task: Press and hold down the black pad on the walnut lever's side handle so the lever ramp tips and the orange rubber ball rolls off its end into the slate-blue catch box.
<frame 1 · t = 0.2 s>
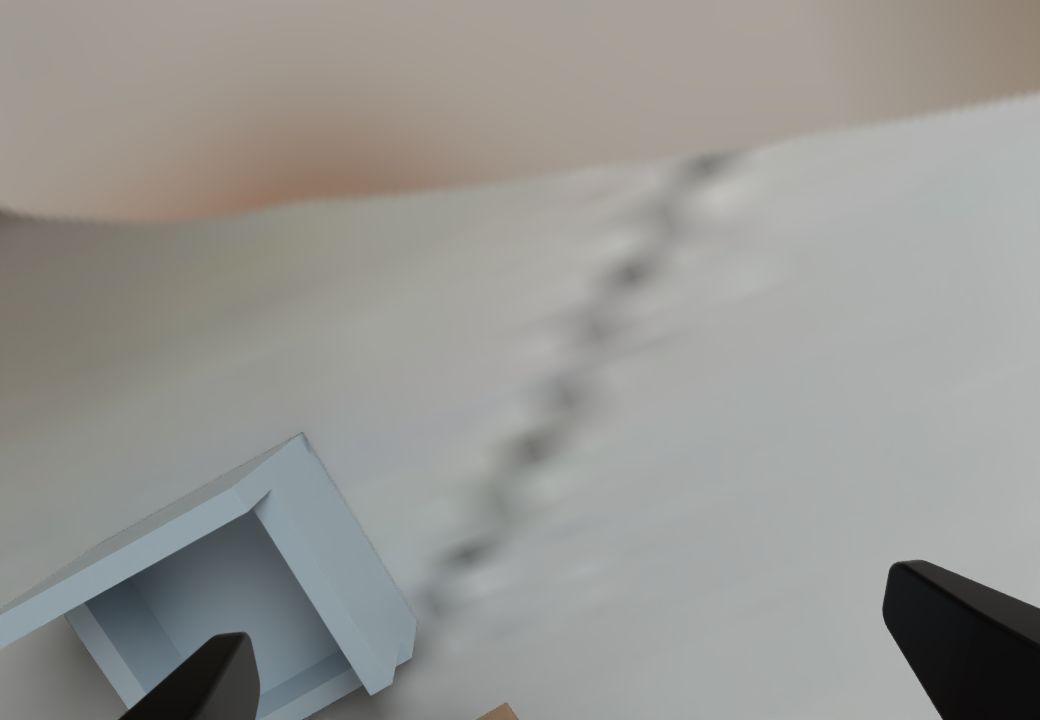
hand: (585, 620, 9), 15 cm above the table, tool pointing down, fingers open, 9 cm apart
catch box: (261, 584, 24), on the table
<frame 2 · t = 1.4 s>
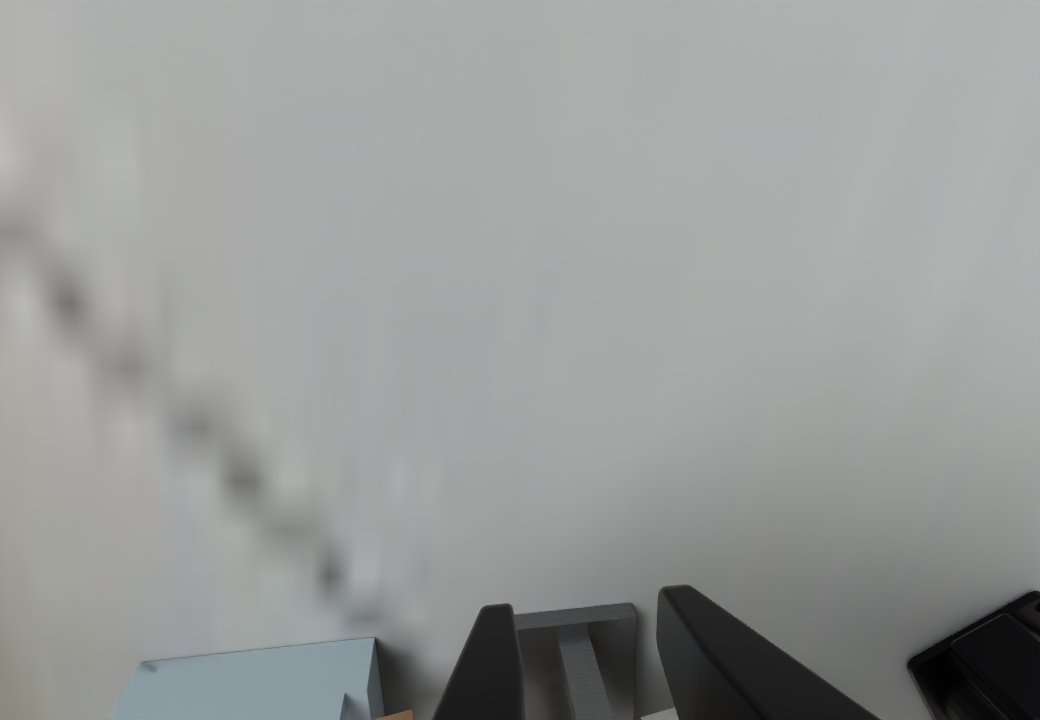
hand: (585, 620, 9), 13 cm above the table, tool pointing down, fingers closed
pivot stand: (569, 700, 26), on the table
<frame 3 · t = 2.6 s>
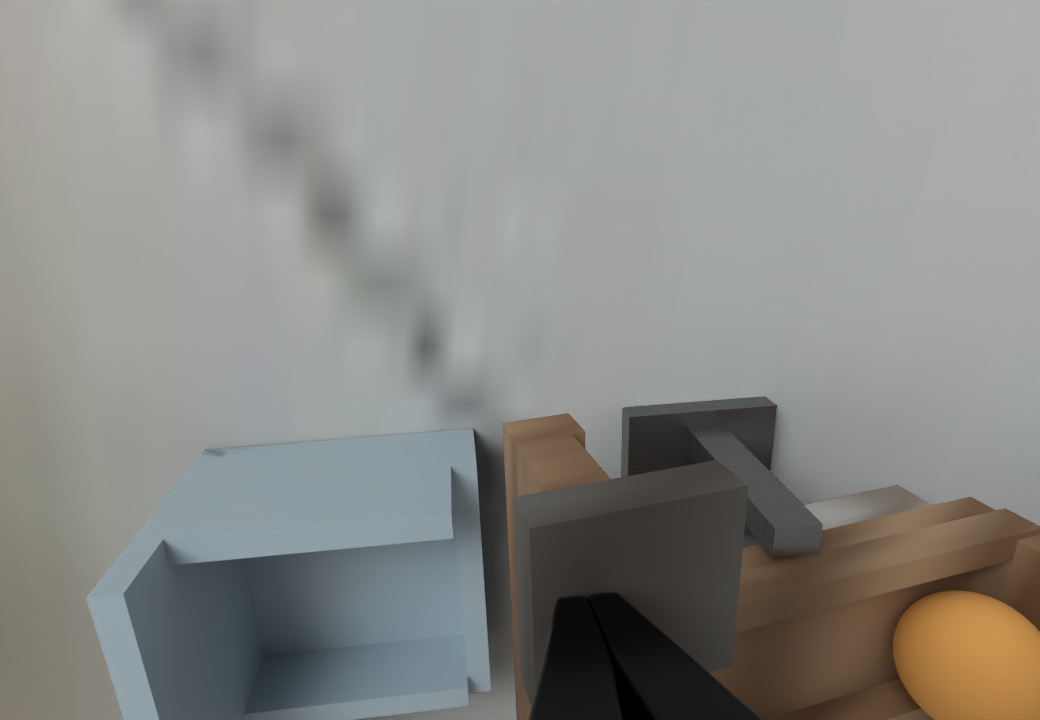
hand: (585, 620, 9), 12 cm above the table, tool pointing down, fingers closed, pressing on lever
lever: (791, 590, 15), point 7 cm above the table, hinge at -9.7°, touching ball, gripper
ball: (971, 662, 16), point 7 cm above the table, tilted 11°, touching lever
pivot stand: (687, 519, 23), on the table
catch box: (357, 550, 22), on the table
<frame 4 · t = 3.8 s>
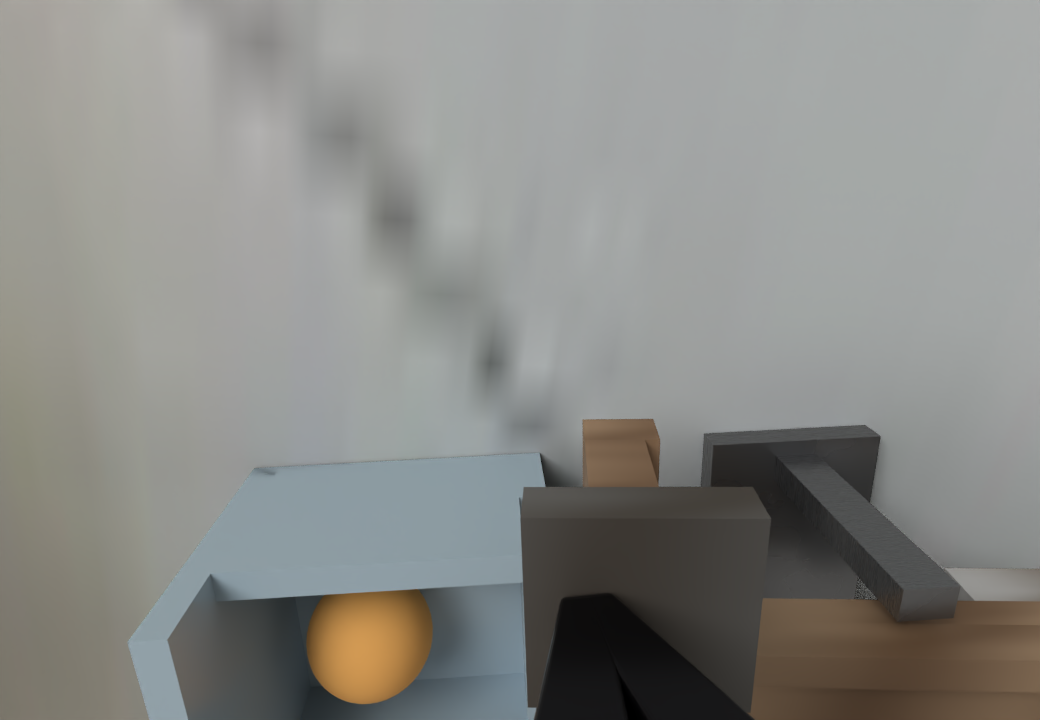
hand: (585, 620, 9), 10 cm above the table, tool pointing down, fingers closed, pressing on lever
lever: (901, 659, 13), point 7 cm above the table, hinge at 6.3°, touching gripper
ball: (371, 634, 18), point 2 cm above the table, tilted 157°, touching catch box
pivot stand: (771, 557, 21), on the table
catch box: (410, 579, 20), on the table
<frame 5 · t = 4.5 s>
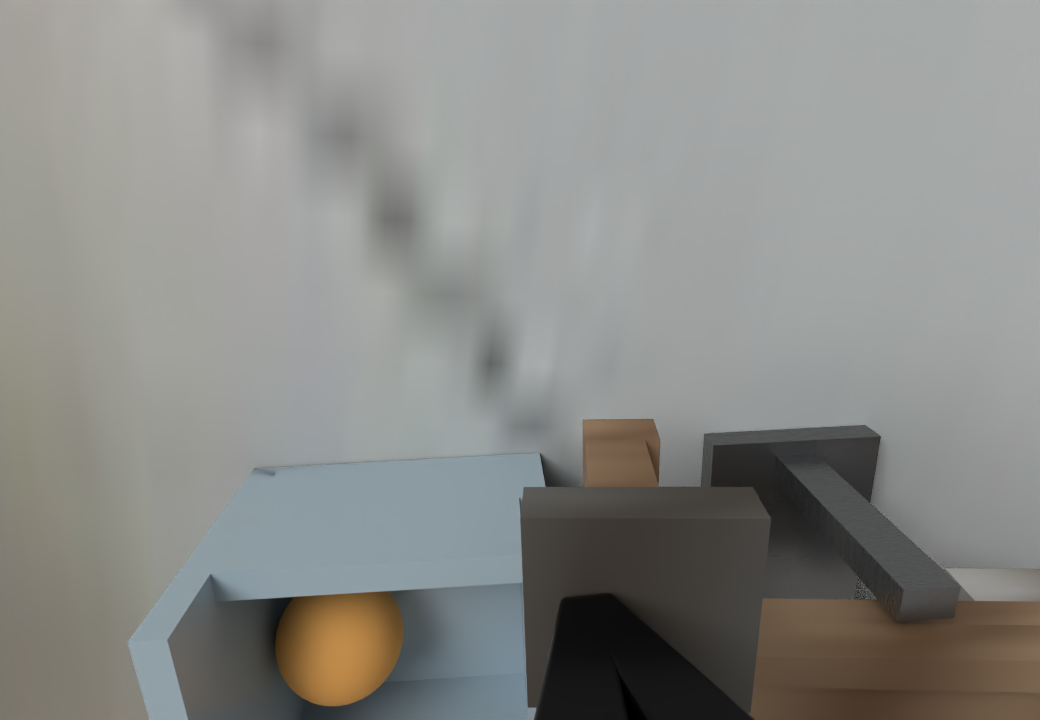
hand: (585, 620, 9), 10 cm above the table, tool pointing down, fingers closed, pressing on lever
lever: (901, 659, 13), point 7 cm above the table, hinge at 6.3°, touching gripper
ball: (340, 636, 18), point 2 cm above the table, tilted 122°, touching catch box
pivot stand: (771, 557, 21), on the table
catch box: (410, 579, 20), on the table
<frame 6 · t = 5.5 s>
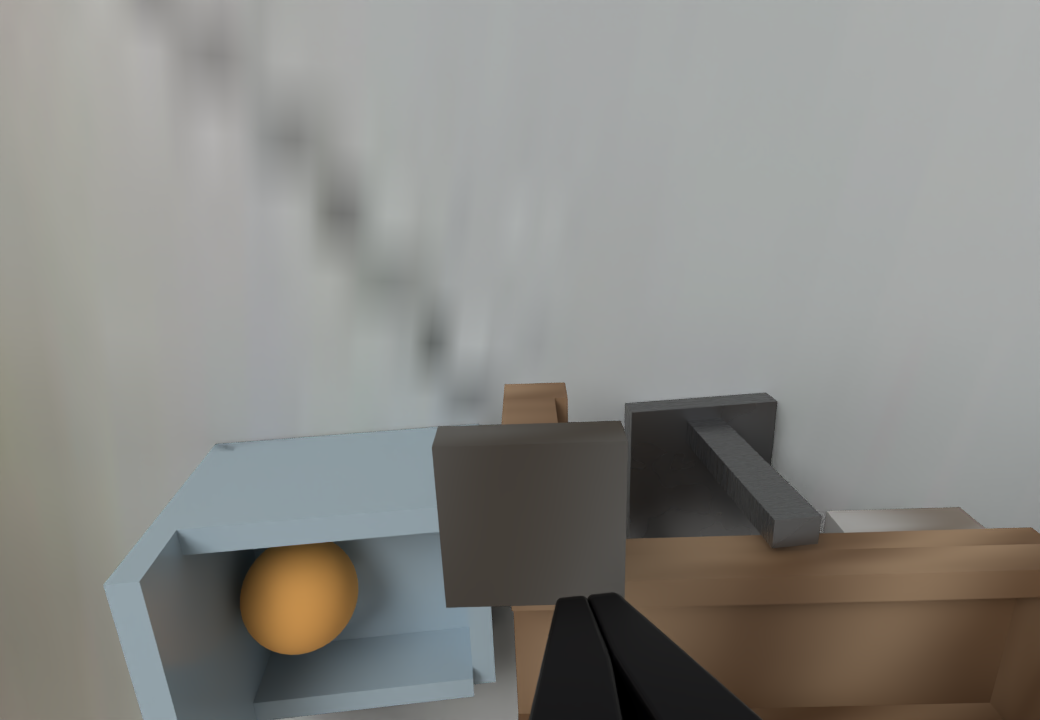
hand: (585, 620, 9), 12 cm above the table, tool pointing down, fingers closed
lever: (774, 579, 15), point 7 cm above the table, hinge at 6.4°
ball: (300, 593, 20), point 2 cm above the table, tilted 124°, touching catch box
pivot stand: (689, 514, 23), on the table
catch box: (364, 543, 22), on the table
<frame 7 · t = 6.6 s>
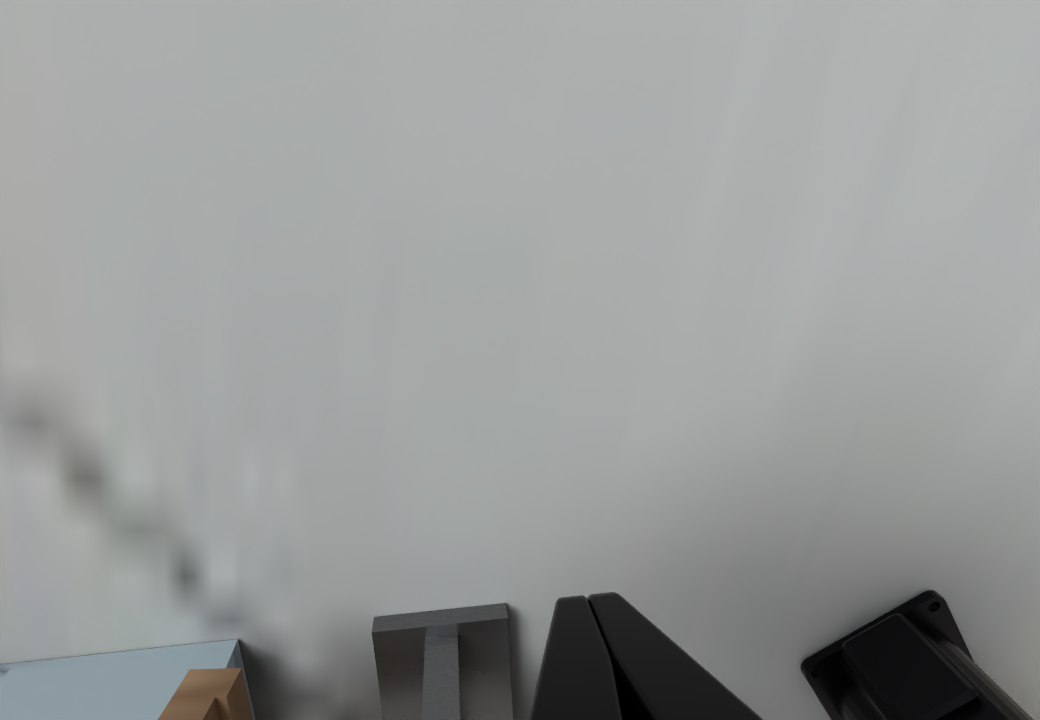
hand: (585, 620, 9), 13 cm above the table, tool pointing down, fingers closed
pivot stand: (449, 703, 25), on the table
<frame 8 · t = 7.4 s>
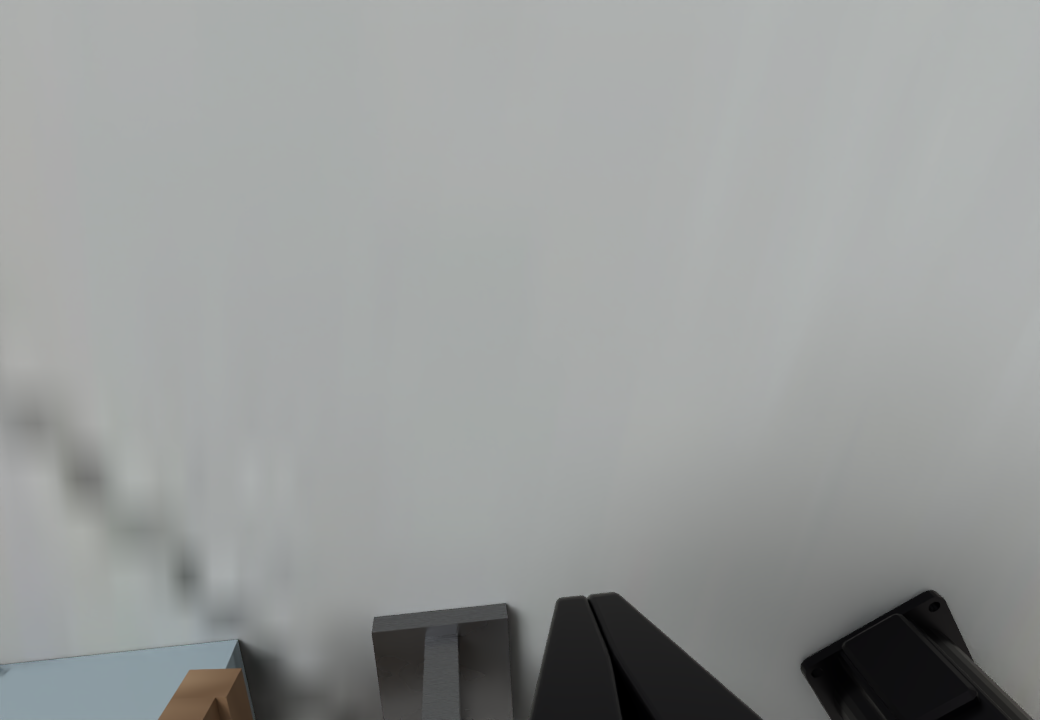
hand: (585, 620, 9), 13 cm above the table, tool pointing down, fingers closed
pivot stand: (449, 703, 25), on the table
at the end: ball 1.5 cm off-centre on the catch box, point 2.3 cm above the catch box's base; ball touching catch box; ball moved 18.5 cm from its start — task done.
